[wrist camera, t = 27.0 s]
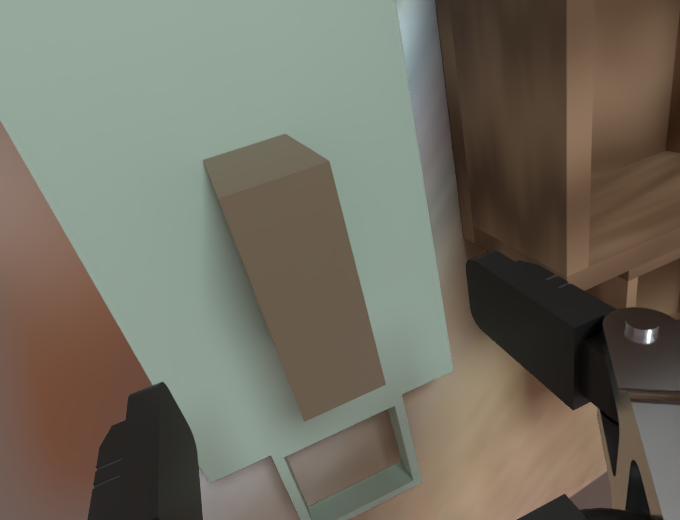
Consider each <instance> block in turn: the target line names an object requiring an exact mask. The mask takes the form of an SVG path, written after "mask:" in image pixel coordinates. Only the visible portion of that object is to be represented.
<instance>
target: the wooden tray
mask: <svg viewBox="0 0 680 520" xmlns="http://www.w3.org/2000/svg"><path fill="white" fill-rule="evenodd" d="M436 8H437V17H438V25H439V33H440V42H441V50H442V59H443V67H444V76H445V84H446V93H447V101H448V109H449V118H450V126H451V135H452V143H453V152H454V160H455V169H456V177H457V185H458V194H459V202H460V211H461V219H462V228H463V236H464V238H466V239H468V240H469V241H471V242H473V243H474V244H476V245H478V246H479V247H481V248H483V249H484V250H486V251H488V252H490V251H493V250H496V251H498V252H500V253H502V254H504V255H505V256H507V257H509V258H510V259H512V260H514V261H515V262H516V261H518V260H521V261H525V262H529V263H533V264H537V265H540V266H542V267H544V268H545V269H547V270H549V271H551V272H552V273H554V274H555V275H556V277H557V276H559V277H561V278H563V279H565V280H566V281H568V283H569V284H573V285H575V286H577V287H579V288H580V289H582V290H584V291H586V292H587V293H589V294H591V295H593V296H594V297H596V298H598V299H600V300H601V301H603V302H605V303H607V304H608V305H610V306H612V307H614V308H616V309H617V310H618V309H621V308H628V307H641V308H648V309H653V310H657V311H660V312H662V313H665V314H667V315H669V316H671V317H672V318H674V319H675V320H678V319H680V0H436Z"/></svg>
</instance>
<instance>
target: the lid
mask: <svg viewBox="0 0 680 520" xmlns="http://www.w3.org/2000/svg"><path fill="white" fill-rule="evenodd" d="M0 121H1V123H2V124H3V126H4V127H5V129H6V131H7V133H8V135H9V136H10V138H11V140H12V142H13V143H14V145H15V147H16V149H17V150H18V152H19V154H20V156H21V157H22V159H23V161H24V163H25V164H26V166H27V168H28V169H29V171H30V173H31V175H32V176H33V178H34V180H35V181H36V183H37V185H38V187H39V189H40V190H41V192H42V194H43V195H44V197H45V199H46V201H47V202H48V204H49V206H50V208H51V209H52V211H53V213H54V215H55V216H56V218H57V220H58V221H59V223H60V225H61V227H62V228H63V230H64V232H65V233H66V235H67V237H68V238H69V241H70V242H71V244H72V246H73V248H74V249H75V251H76V253H77V255H78V256H79V258H80V260H81V261H82V263H83V265H84V267H85V268H86V270H87V272H88V274H89V275H90V277H91V279H92V281H93V282H94V284H95V286H96V288H97V289H98V291H99V293H100V294H101V296H102V298H103V300H104V301H105V303H106V305H107V307H108V308H109V310H110V312H111V313H112V315H113V317H114V318H115V320H116V322H117V324H118V326H119V327H120V329H121V331H122V333H123V334H124V336H125V337H126V340H127V341H128V343H129V345H130V347H131V348H132V350H133V352H134V354H135V355H136V357H137V359H138V360H139V362H140V364H141V366H142V367H143V369H144V371H145V373H146V374H147V376H148V378H149V380H150V381H151V383H152V385H155V384H158V383H160V382H164V383H165V384H166V385H167V387H168V388H169V390H170V392H171V394H172V396H173V397H174V399H175V401H176V403H177V405H178V407H179V408H180V410H181V412H182V414H183V416H184V417H185V419H186V421H187V423H188V425H189V427H190V429H191V431H192V434H193V436H194V440H195V443H196V447H197V454H198V465H199V466H200V468H201V470H202V472H203V473H204V475H205V477H206V479H207V480H208V482H209V484H210V483H212V482H214V481H216V480H219V479H221V478H223V477H225V476H227V475H229V474H232V473H234V472H236V471H238V470H240V469H242V468H245V467H247V466H249V465H251V464H253V463H255V462H257V461H260V460H262V459H264V458H266V457H268V456H270V455H271V457H272V459H273V461H274V463H275V465H276V468H277V470H278V472H279V474H280V476H281V479H282V481H283V483H284V485H285V487H286V490H287V492H288V494H289V496H290V498H291V501H292V503H293V505H294V507H295V509H296V511H297V514H298V516H299V518H300V520H349V519H351V518H353V517H355V516H357V515H359V514H361V513H363V512H365V511H367V510H369V509H371V508H373V507H375V506H377V505H379V504H381V503H383V502H385V501H387V500H388V499H390V498H392V497H394V496H396V495H398V494H400V493H402V492H404V491H406V490H408V489H410V488H412V487H414V486H416V485H418V484H420V483H422V478H421V474H420V470H419V466H418V461H417V457H416V453H415V448H414V444H413V440H412V436H411V431H410V427H409V423H408V419H407V414H406V410H405V406H404V401H403V397H402V394H404V393H406V392H409V391H411V390H413V389H415V388H417V387H419V386H421V385H424V384H426V383H428V382H430V381H432V380H434V379H437V378H439V377H441V376H443V375H445V374H447V373H450V372H452V371H453V365H452V359H451V352H450V346H449V339H448V333H447V327H446V320H445V314H444V307H443V301H442V295H441V288H440V282H439V276H438V269H437V263H436V256H435V250H434V244H433V237H432V231H431V224H430V218H429V212H428V205H427V199H426V192H425V186H424V180H423V173H422V167H421V161H420V154H419V148H418V141H417V135H416V129H415V122H414V116H413V109H412V103H411V97H410V90H409V84H408V78H407V71H406V65H405V58H404V52H403V46H402V39H401V33H400V26H399V20H398V14H397V7H396V1H395V0H0ZM387 409H388V410H389V414H390V418H391V422H392V426H393V430H394V433H395V437H396V441H397V445H398V449H399V453H400V457H401V461H400V462H398V463H396V464H394V465H392V466H390V467H388V468H386V469H384V470H382V471H380V472H378V473H375V474H373V475H371V476H369V477H367V478H365V479H363V480H361V481H359V482H357V483H355V484H353V485H351V486H349V487H347V488H345V489H343V490H341V491H339V492H337V493H335V494H333V495H331V496H329V497H327V498H325V499H323V500H321V501H319V502H317V503H315V504H313V505H311V506H309V507H308V506H307V503H306V501H305V499H304V496H303V494H302V492H301V489H300V487H299V485H298V483H297V480H296V478H295V476H294V473H293V471H292V469H291V466H290V464H289V462H288V460H287V457H286V456H288V455H290V454H293V453H295V452H297V451H299V450H301V449H303V448H305V447H308V446H310V445H312V444H314V443H316V442H318V441H320V440H323V439H325V438H327V437H329V436H331V435H333V434H335V433H337V432H340V431H342V430H344V429H346V428H348V427H350V426H352V425H355V424H357V423H359V422H361V421H363V420H365V419H367V418H370V417H372V416H374V415H376V414H378V413H380V412H382V411H385V410H387Z"/></svg>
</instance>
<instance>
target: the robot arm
mask: <svg viewBox="0 0 680 520" xmlns="http://www.w3.org/2000/svg"><path fill="white" fill-rule="evenodd" d="M466 274H467V283H468V292H469V301H470V309H471V313H472V316H473V318H474V320H475V322H476V324H477V325H478V327H479V328H480V329H481V330H482V331H483V332H484V333H485V334H487V335H488V336H489V337H490V338H491V339H492V340H493V341H495V342H496V343H497V344H498V345H499V346H500V347H501V348H503V349H504V350H505V351H506V352H507V353H508V354H509V355H511V356H512V357H513V358H514V359H515V360H516V361H517V362H518V363H520V364H521V365H522V366H523V367H524V368H525V369H526V370H528V371H529V372H530V373H531V374H532V375H533V376H534V377H536V378H537V379H538V380H539V381H540V382H541V383H542V384H544V385H545V386H546V387H547V388H548V389H549V390H550V391H551V392H553V393H554V394H555V395H556V396H557V397H558V398H559V399H561V400H562V401H563V402H564V403H565V404H566V405H567V406H569V407H570V408H571V409H572V410H575V409H577V408H579V407H581V406H583V405H585V404H587V403H589V402H592V403H593V404H594V405H595V406H597V407H598V410H597V419H598V424H599V429H600V434H601V440H602V445H603V450H604V455H605V460H606V465H607V471H608V476H609V481H610V486H611V493H612V505H613V509H608V508H594V509H583V510H579V509H578V508H577V507H576V506H575V505H574V504H573V502H572V501H571V500H570V499H569V498H568V497H567V496H566V495H565V494H564V495H562V496H560V497H558V498H556V499H554V500H553V501H551V502H549V503H547V504H545V505H543V506H541V507H540V508H538V509H536V510H534V511H532V512H530V513H528V514H527V515H525V516H523V517H521V518H519V519H517V520H680V319H678V320H675V319H674V318H672V317H671V316H669V315H667V314H665V313H662V312H660V311H657V310H653V309H648V308H641V307H628V308H621V309H618V310H617V309H616V308H614V307H612V306H610V305H608V304H607V303H605V302H603V301H601V300H600V299H598V298H596V297H594V296H593V295H591V294H589V293H587V292H586V291H584V290H582V289H580V288H579V287H577V286H575V285H573V284H569V283H568V281H566V280H565V279H563V278H561V277H559V276H557V277H556V275H555V274H554V273H552V272H551V271H549V270H547V269H545V268H544V267H542V266H540V265H537V264H533V263H529V262H525V261H521V260H518V261H516V262H515V261H514V260H512V259H510V258H509V257H507V256H505V255H504V254H502V253H500V252H498V251H496V250H493V251H490V252H488V253H485V254H483V255H480V256H478V257H475V258H473V259H470V260H468V261H467V263H466ZM96 468H97V471H96V472H95V478H94V484H93V485H94V489H93V491H92V497H91V503H90V508H89V514H88V520H203V516H202V504H201V491H200V479H199V466H198V454H197V447H196V443H195V440H194V436H193V434H192V431H191V429H190V427H189V425H188V423H187V421H186V419H185V417H184V416H183V414H182V412H181V410H180V408H179V407H178V405H177V403H176V401H175V399H174V397H173V396H172V394H171V392H170V390H169V388H168V387H167V385H166V384H165V383H164V382H160V383H158V384H155V385H153V386H150V387H148V388H145V389H143V390H140V391H138V392H135V393H133V394H130V395H129V397H128V404H127V413H126V420H125V421H123V422H120V423H118V424H115V425H113V426H112V427H111V429H110V430H109V432H108V434H107V435H106V437H105V439H104V441H103V442H102V444H101V446H100V448H99V455H98V460H97V466H96Z"/></svg>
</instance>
